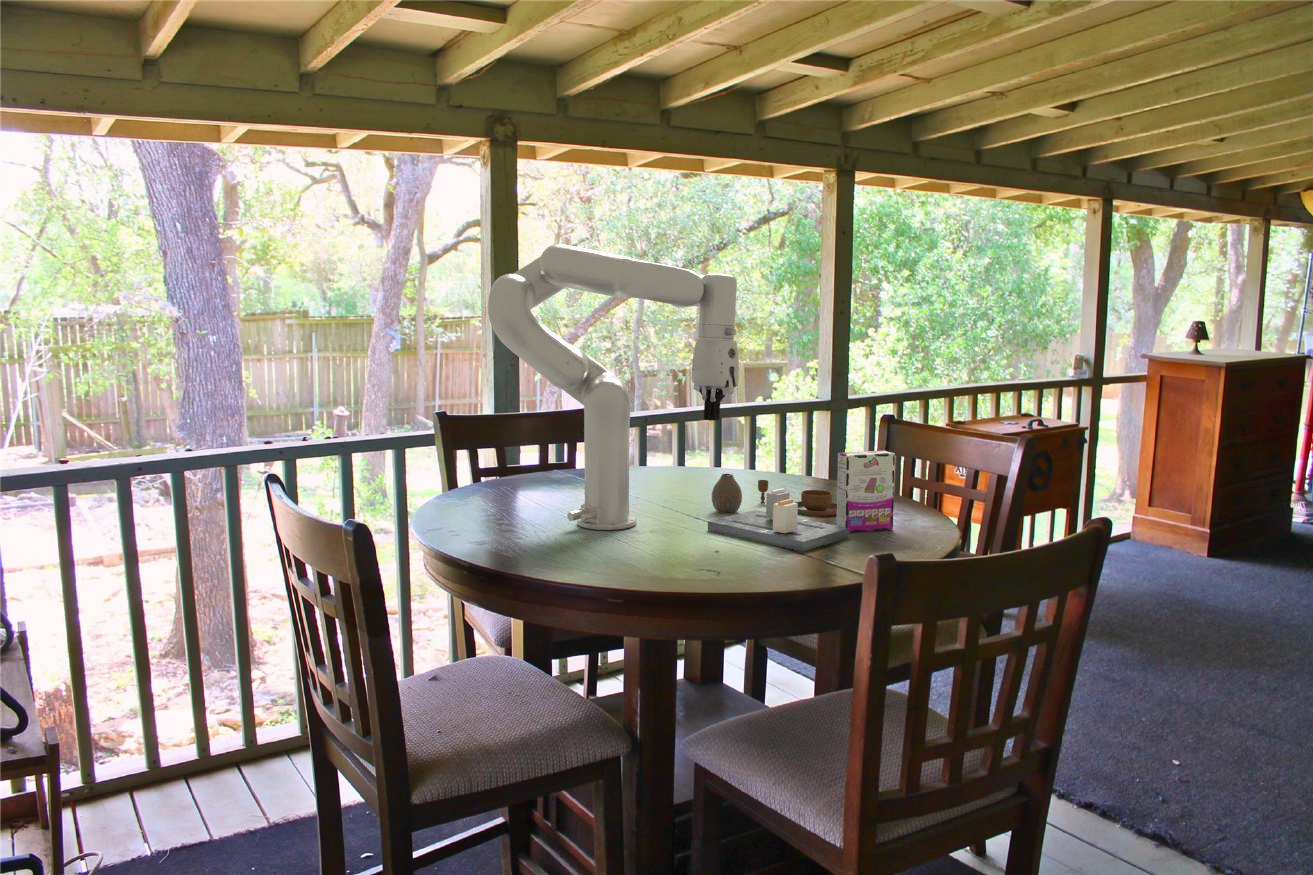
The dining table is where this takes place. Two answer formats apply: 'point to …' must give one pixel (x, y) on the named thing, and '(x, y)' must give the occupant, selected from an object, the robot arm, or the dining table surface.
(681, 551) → the dining table surface
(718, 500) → the vase
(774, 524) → the ivory fader
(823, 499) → the place setting
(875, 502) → the candy bar box
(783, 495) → the grey fader
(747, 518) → the console
